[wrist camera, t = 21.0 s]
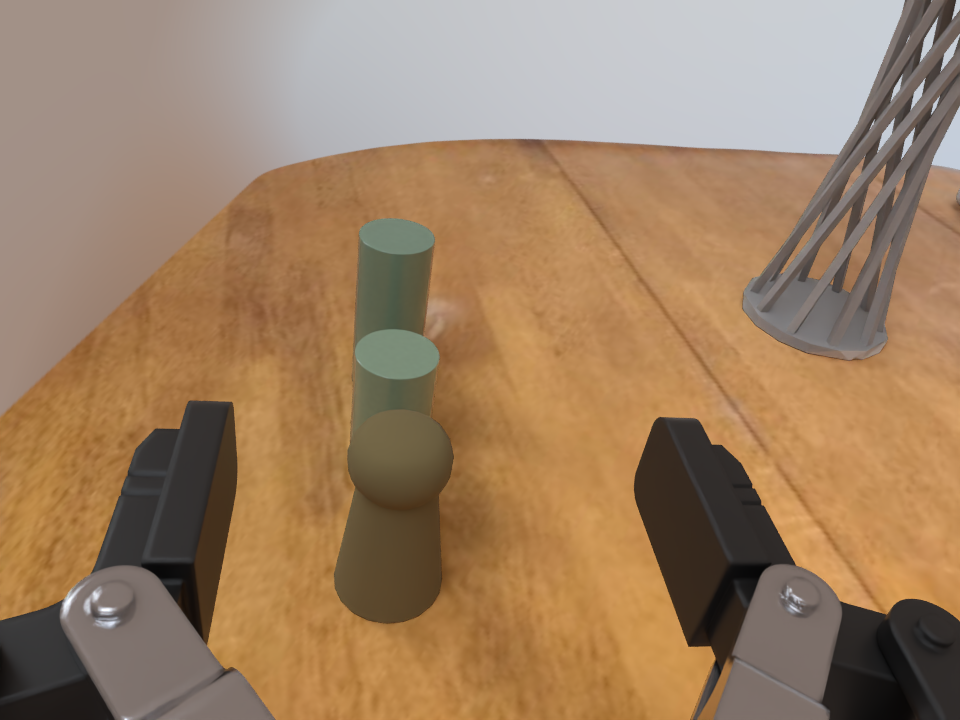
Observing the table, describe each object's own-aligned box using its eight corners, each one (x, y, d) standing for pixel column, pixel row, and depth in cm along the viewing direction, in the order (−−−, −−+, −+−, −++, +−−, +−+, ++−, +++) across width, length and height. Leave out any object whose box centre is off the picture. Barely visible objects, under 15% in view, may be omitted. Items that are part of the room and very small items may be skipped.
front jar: (347, 490, 48) (353, 377, 43) (349, 436, 52) (355, 326, 47) (427, 491, 49) (442, 380, 44) (423, 438, 53) (436, 330, 48)
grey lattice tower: (883, 378, 68) (1139, -73, 47) (732, 328, 71) (909, -114, 50) (882, 308, 78) (1090, -85, 58) (750, 268, 81) (902, -118, 61)
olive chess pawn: (396, 643, 40) (415, 497, 34) (310, 582, 42) (312, 434, 36) (462, 571, 45) (489, 428, 38) (380, 519, 47) (393, 376, 40)
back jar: (351, 398, 56) (358, 251, 48) (352, 357, 59) (359, 215, 52) (420, 401, 56) (437, 256, 49) (417, 360, 60) (432, 220, 53)
